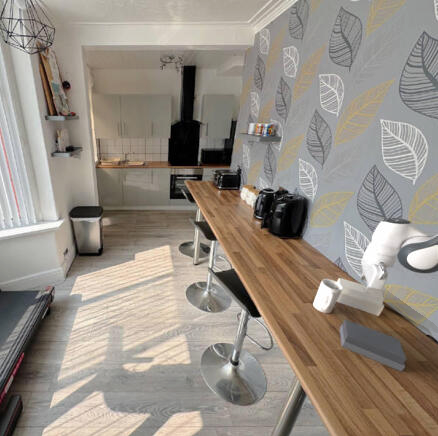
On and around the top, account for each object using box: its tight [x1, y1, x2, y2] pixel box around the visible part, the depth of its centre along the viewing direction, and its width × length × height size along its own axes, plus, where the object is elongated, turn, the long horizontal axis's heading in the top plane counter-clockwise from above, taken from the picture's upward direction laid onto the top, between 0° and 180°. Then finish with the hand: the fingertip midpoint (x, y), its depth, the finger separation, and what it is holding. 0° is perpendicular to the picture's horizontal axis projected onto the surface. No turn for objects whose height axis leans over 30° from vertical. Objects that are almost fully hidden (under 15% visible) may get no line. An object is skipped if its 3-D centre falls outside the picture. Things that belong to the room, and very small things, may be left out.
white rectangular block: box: [336, 280, 385, 317], centre depth 100 cm, size 15×9×5 cm, turn 57°
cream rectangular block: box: [336, 277, 385, 304], centre depth 98 cm, size 14×6×2 cm, turn 57°
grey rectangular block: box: [339, 319, 407, 372], centre depth 79 cm, size 15×9×5 cm, turn 57°
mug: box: [312, 278, 343, 314], centre depth 93 cm, size 10×7×12 cm, turn 148°
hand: (365, 285), depth 97 cm, fingers open, 8 cm apart
